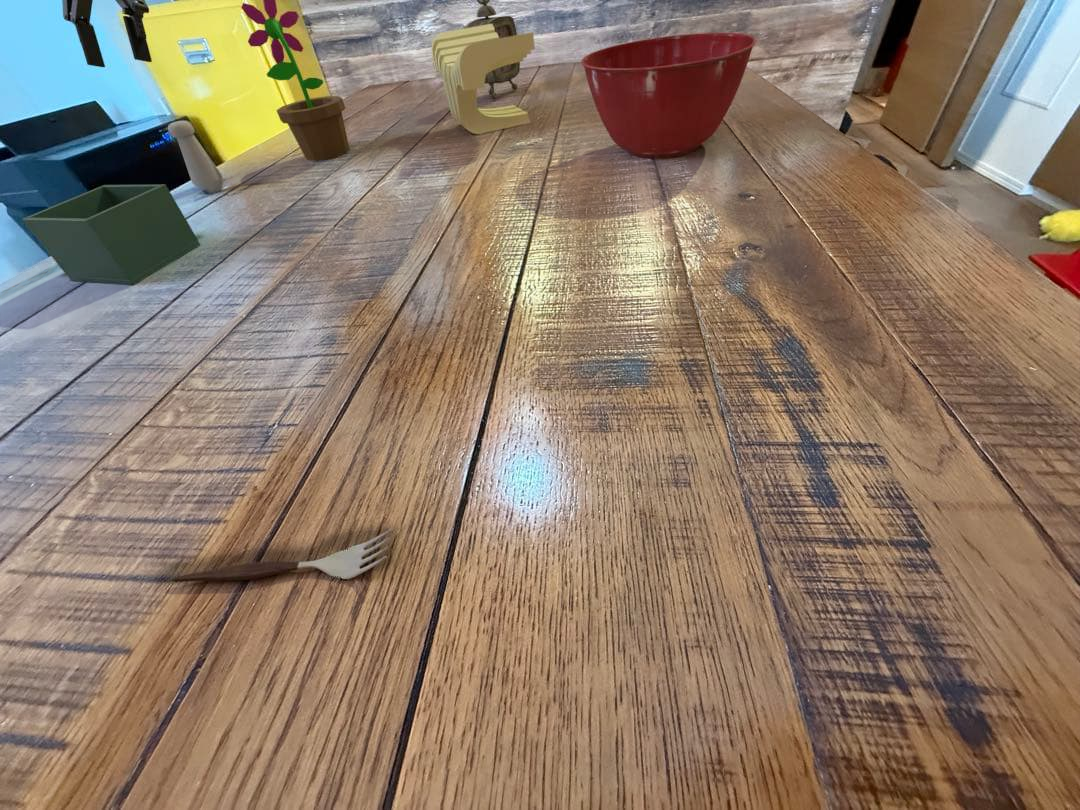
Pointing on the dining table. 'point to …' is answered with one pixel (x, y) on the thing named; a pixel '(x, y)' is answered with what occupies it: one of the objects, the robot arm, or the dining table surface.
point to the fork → (298, 565)
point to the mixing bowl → (667, 89)
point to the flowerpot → (311, 118)
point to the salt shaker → (196, 158)
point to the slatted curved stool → (478, 73)
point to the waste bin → (114, 233)
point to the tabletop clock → (503, 29)
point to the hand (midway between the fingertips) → (119, 63)
